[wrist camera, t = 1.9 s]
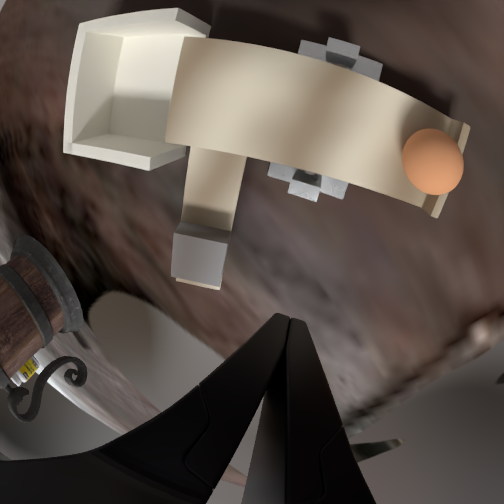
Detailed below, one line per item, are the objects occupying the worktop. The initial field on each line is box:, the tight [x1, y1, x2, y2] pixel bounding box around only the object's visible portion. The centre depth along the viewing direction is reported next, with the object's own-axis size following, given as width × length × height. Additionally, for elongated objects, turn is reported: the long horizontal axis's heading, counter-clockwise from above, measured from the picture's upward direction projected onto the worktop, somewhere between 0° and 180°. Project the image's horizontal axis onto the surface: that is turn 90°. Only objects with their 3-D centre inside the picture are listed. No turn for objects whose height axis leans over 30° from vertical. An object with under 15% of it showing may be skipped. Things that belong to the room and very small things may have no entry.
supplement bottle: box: [11, 356, 39, 386], centre depth 50 cm, size 5×5×10 cm
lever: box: [165, 36, 470, 290], centre depth 15 cm, size 16×15×2 cm
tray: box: [63, 8, 211, 171], centre depth 15 cm, size 8×10×4 cm
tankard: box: [0, 235, 87, 423], centre depth 25 cm, size 24×17×20 cm
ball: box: [402, 128, 464, 195], centre depth 12 cm, size 4×4×4 cm
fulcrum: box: [267, 37, 383, 202], centre depth 14 cm, size 5×9×3 cm, turn 167°
